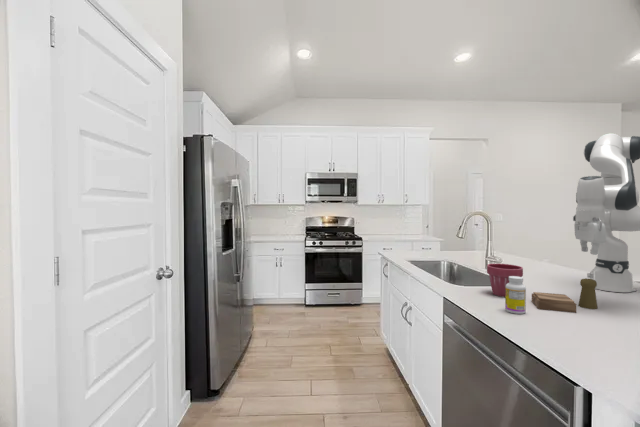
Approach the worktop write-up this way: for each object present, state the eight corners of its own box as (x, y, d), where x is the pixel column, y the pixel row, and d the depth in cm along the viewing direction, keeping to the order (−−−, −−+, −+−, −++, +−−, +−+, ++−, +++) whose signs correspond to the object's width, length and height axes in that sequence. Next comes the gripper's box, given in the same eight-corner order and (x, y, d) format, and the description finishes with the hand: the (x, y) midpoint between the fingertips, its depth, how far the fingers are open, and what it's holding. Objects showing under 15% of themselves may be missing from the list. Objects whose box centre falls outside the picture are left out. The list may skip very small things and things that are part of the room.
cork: (601, 309, 132) (601, 280, 132) (583, 308, 133) (583, 280, 133) (592, 305, 138) (592, 277, 138) (575, 304, 139) (575, 277, 139)
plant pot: (521, 300, 144) (522, 270, 144) (484, 295, 152) (485, 266, 151) (522, 293, 156) (523, 265, 156) (488, 289, 164) (488, 262, 163)
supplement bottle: (508, 308, 133) (509, 274, 133) (528, 311, 129) (528, 277, 128) (502, 311, 129) (503, 277, 128) (522, 315, 124) (523, 279, 124)
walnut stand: (531, 301, 143) (531, 291, 143) (565, 304, 139) (566, 294, 139) (538, 309, 132) (538, 298, 132) (576, 312, 128) (576, 301, 128)
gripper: (611, 218, 124) (610, 256, 125) (589, 217, 144) (588, 250, 144) (590, 218, 126) (589, 255, 127) (571, 216, 146) (570, 249, 146)
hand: (589, 253), depth 135 cm, fingers open, 8 cm apart
